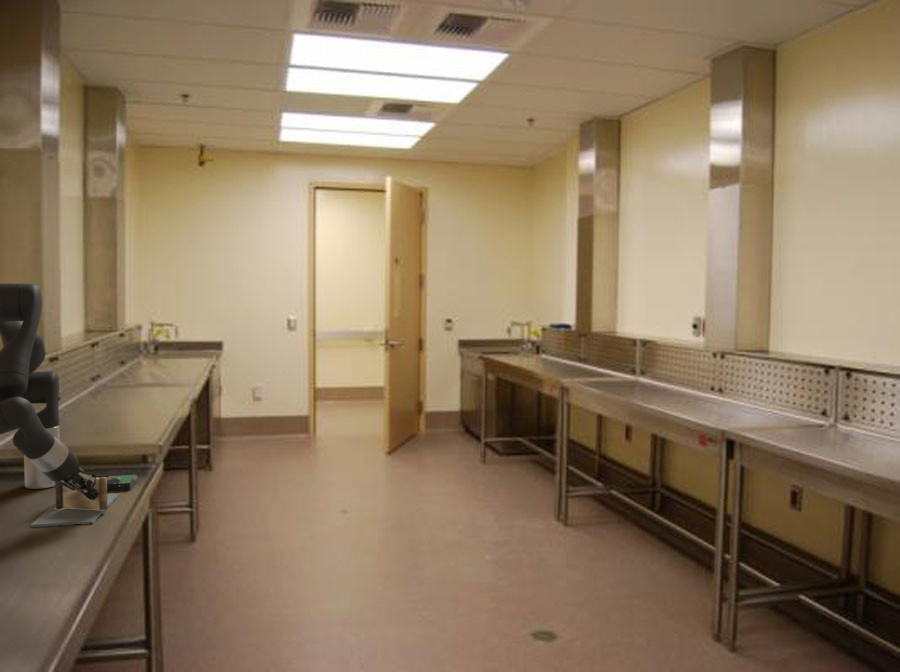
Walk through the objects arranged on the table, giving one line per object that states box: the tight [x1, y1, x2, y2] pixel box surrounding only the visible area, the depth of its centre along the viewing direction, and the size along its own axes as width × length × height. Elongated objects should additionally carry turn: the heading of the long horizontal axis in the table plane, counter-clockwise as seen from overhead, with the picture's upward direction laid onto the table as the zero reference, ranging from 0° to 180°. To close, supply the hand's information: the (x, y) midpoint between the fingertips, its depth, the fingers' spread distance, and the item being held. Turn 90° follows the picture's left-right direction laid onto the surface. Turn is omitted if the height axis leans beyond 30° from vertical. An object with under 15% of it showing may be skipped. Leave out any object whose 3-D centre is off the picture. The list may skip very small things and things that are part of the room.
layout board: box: [29, 492, 120, 528], centre depth 189 cm, size 25×14×1 cm, turn 11°
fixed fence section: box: [54, 482, 63, 509], centre depth 192 cm, size 10×2×10 cm, turn 11°
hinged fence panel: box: [63, 477, 109, 511], centre depth 187 cm, size 12×2×8 cm, turn 80°
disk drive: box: [96, 474, 139, 492], centre depth 211 cm, size 10×3×15 cm
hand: (94, 496), depth 185 cm, fingers closed
